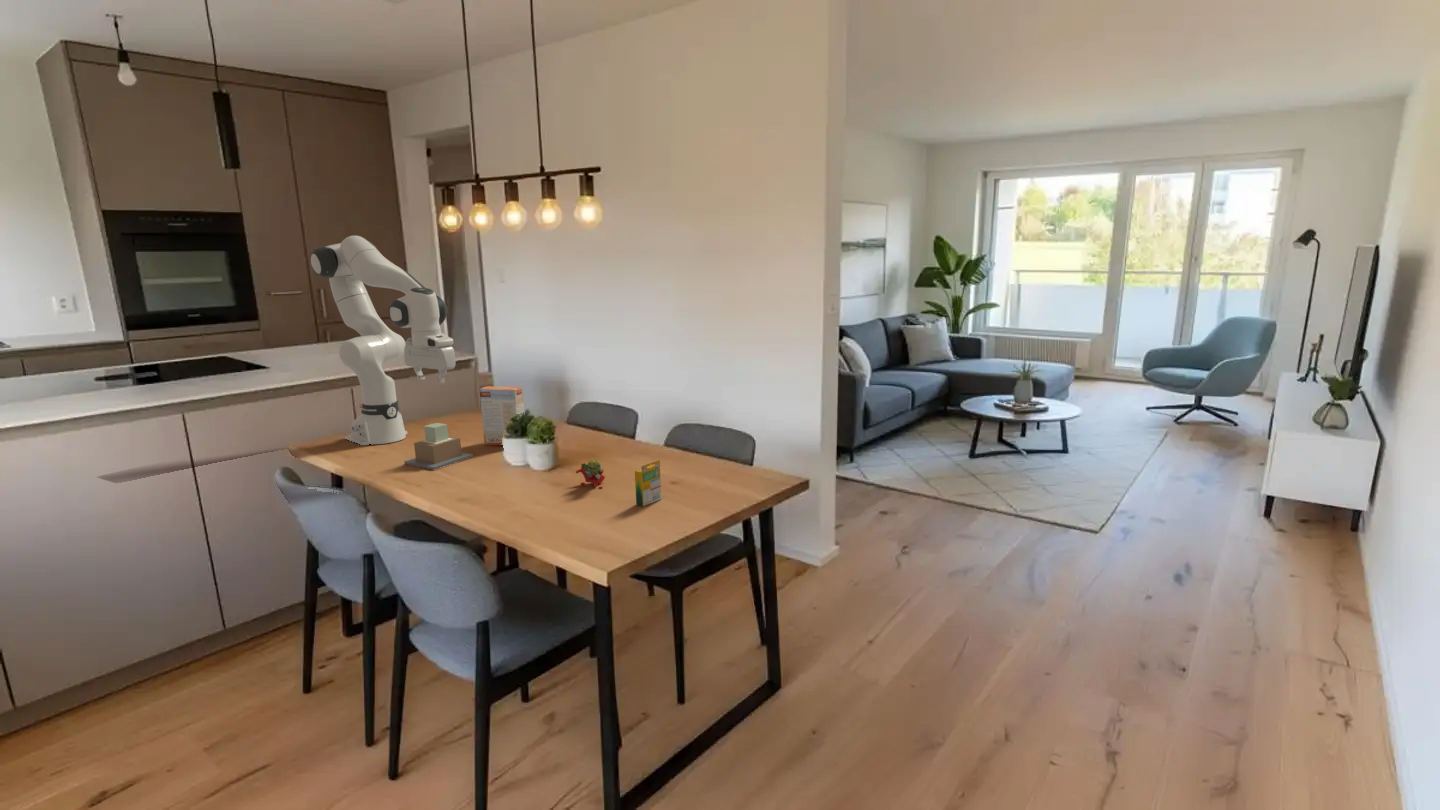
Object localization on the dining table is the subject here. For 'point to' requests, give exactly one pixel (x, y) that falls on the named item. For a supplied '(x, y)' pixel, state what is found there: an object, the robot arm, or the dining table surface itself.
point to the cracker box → (499, 410)
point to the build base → (437, 453)
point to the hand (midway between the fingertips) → (431, 381)
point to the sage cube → (436, 432)
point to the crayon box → (648, 484)
